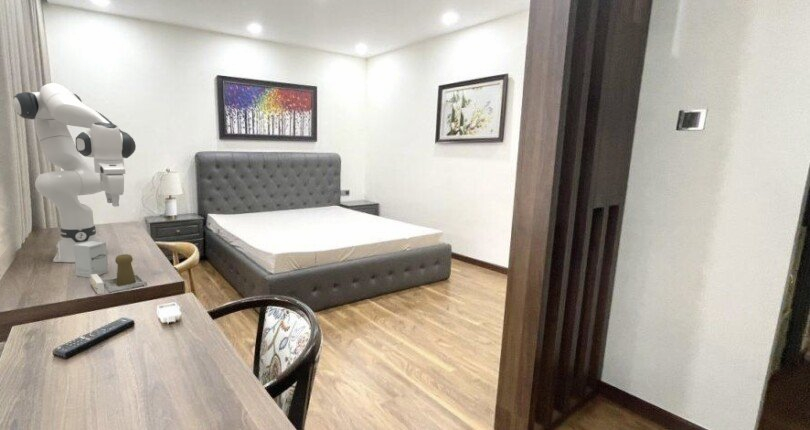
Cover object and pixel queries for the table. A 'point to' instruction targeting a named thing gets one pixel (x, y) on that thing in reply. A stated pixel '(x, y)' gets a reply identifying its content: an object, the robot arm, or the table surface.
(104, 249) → the supplement box
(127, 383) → the table surface
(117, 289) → the grey square tray
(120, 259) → the cork
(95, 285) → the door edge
